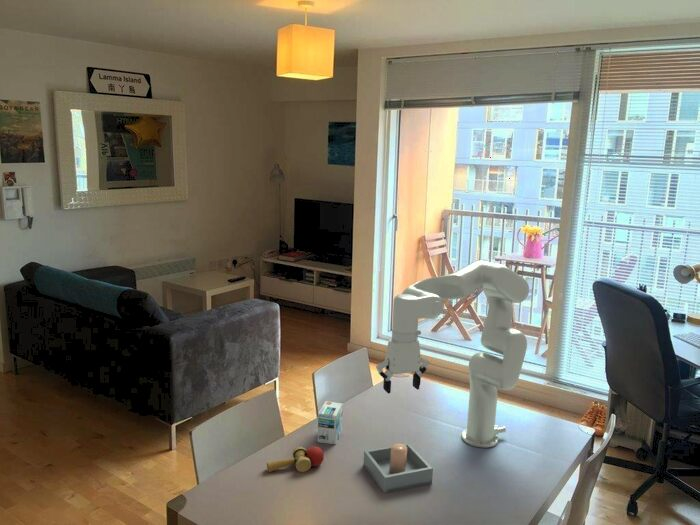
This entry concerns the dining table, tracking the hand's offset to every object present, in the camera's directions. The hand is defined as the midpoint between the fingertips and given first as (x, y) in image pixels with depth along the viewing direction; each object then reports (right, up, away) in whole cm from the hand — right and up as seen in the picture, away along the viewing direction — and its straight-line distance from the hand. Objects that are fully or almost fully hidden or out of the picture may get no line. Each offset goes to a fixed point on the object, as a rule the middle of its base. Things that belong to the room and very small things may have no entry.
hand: (401, 389), depth 172 cm
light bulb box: (-23, -23, +27) cm, 42 cm away
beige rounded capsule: (-1, -27, +5) cm, 27 cm away
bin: (-1, -28, +5) cm, 28 cm away
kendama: (-33, -27, +7) cm, 43 cm away
